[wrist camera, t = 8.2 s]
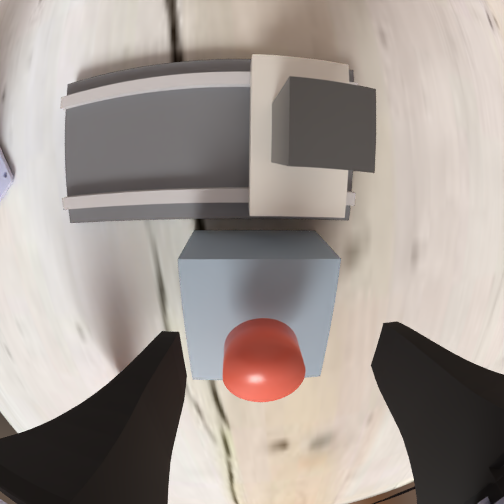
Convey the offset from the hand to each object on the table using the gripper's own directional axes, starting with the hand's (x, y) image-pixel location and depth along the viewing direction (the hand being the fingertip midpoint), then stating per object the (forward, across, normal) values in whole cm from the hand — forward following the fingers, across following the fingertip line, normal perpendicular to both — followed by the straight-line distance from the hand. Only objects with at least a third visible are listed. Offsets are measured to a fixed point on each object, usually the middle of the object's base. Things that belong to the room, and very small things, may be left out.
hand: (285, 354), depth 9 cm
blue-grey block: (+10, +1, +2) cm, 11 cm away
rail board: (+10, +4, -8) cm, 13 cm away
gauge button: (+3, 0, +2) cm, 4 cm away
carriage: (+8, -1, -8) cm, 11 cm away
